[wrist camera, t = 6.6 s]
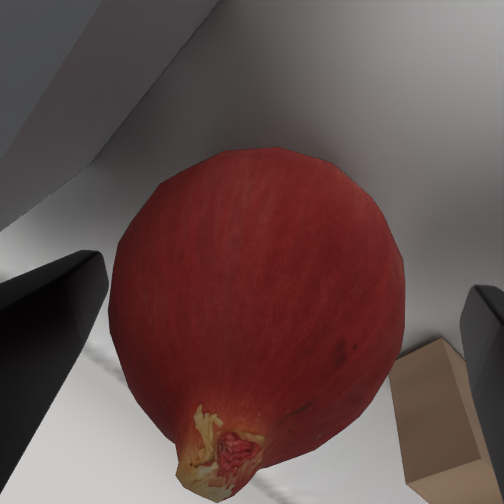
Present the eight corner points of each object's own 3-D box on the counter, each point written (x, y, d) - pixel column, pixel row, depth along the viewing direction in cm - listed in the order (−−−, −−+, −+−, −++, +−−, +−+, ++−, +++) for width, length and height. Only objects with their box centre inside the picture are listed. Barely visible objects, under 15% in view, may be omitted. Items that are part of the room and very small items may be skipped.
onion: (379, 295, 13) (436, 632, 6) (197, 296, 14) (77, 583, 7) (386, 95, 10) (514, 328, 3) (154, 118, 11) (-117, 324, 4)
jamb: (229, -12, 9) (109, -12, 4) (88, 165, 12) (-86, 295, 7) (159, -94, 9) (-79, -207, 4) (27, 113, 11) (-209, 212, 6)
